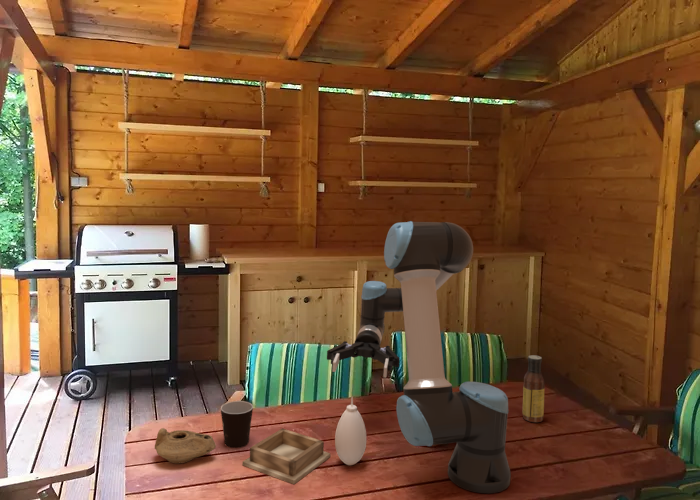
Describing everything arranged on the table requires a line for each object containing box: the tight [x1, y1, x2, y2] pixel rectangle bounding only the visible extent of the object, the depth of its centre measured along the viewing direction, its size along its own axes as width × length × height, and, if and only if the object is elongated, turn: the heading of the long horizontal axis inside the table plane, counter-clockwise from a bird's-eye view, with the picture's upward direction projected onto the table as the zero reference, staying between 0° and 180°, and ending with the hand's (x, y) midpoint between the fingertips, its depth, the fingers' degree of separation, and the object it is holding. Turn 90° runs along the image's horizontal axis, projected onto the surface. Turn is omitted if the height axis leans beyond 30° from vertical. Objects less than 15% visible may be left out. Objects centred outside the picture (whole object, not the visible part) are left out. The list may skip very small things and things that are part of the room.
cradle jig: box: [242, 428, 331, 485], centre depth 147 cm, size 16×16×4 cm
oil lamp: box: [154, 427, 217, 464], centre depth 147 cm, size 11×15×8 cm
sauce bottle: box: [521, 354, 545, 424], centre depth 176 cm, size 7×6×20 cm
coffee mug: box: [220, 400, 254, 449], centre depth 157 cm, size 12×9×10 cm
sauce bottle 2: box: [334, 396, 367, 466], centre depth 146 cm, size 8×8×18 cm
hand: (359, 370), depth 151 cm, fingers open, 13 cm apart
